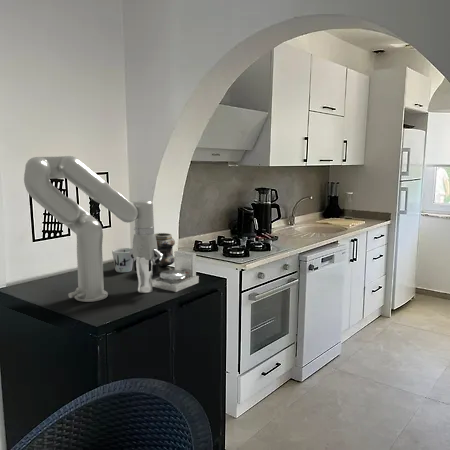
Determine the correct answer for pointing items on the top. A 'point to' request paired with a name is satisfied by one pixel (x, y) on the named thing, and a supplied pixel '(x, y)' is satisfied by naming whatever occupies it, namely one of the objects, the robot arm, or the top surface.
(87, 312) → the top surface
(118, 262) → the mug
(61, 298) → the top surface
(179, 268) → the scale
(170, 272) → the scale pan
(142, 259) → the beer glass
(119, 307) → the top surface
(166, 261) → the apothecary jar
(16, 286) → the top surface
